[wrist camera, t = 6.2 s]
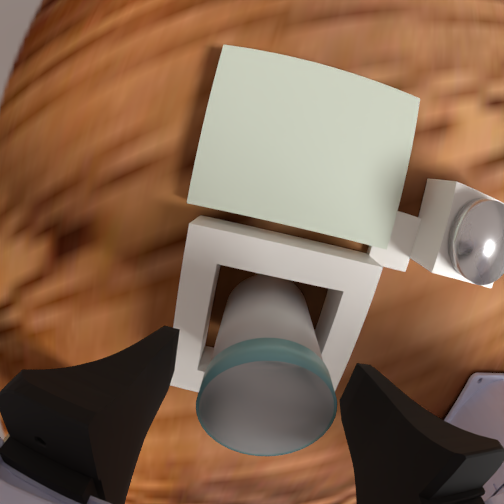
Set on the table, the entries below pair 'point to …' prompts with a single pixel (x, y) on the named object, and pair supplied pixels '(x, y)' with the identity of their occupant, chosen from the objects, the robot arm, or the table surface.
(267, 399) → the cartridge
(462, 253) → the plunger
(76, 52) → the table surface
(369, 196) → the pad
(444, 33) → the table surface
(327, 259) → the holder
